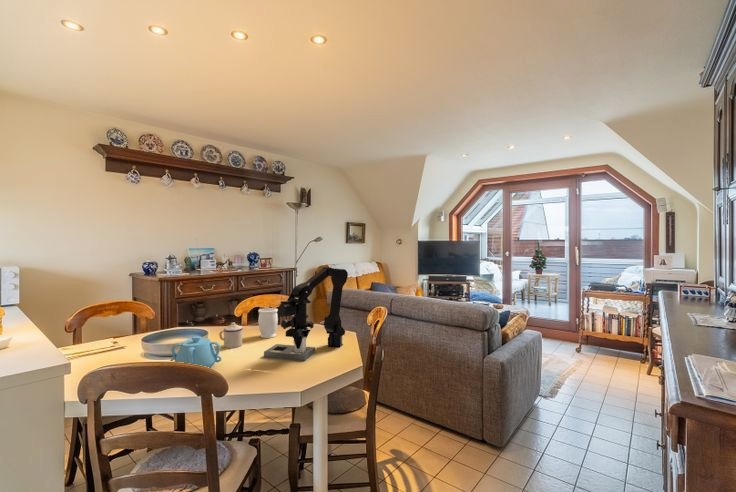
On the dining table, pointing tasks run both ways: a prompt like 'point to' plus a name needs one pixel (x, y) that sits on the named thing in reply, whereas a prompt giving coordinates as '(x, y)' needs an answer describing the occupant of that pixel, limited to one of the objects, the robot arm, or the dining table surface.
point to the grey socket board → (288, 352)
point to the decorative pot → (197, 352)
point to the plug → (302, 347)
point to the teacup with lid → (232, 336)
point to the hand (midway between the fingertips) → (300, 347)
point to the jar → (268, 322)
